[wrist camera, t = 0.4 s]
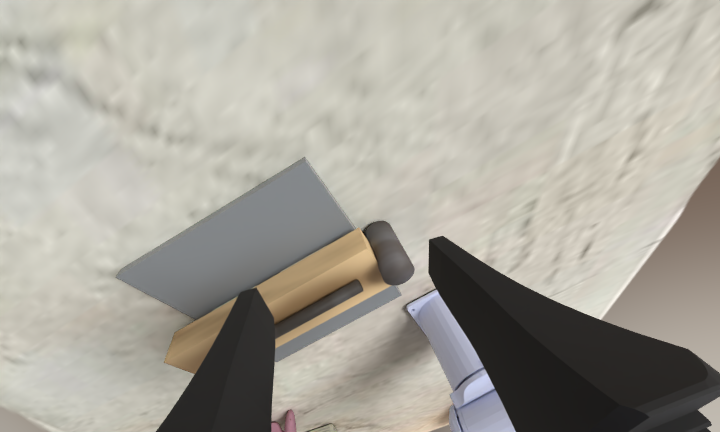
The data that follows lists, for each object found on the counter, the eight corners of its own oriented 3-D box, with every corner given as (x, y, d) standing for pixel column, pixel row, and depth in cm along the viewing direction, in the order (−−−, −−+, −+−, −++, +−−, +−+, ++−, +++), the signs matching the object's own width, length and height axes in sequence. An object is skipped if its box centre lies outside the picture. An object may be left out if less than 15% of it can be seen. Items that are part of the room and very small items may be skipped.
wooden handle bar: (400, 243, 24) (423, 284, 20) (222, 342, 26) (211, 397, 22) (378, 205, 21) (401, 244, 17) (179, 320, 23) (157, 380, 19)
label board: (398, 289, 28) (401, 295, 28) (276, 355, 30) (276, 363, 29) (304, 157, 18) (305, 161, 17) (121, 269, 19) (114, 278, 18)
